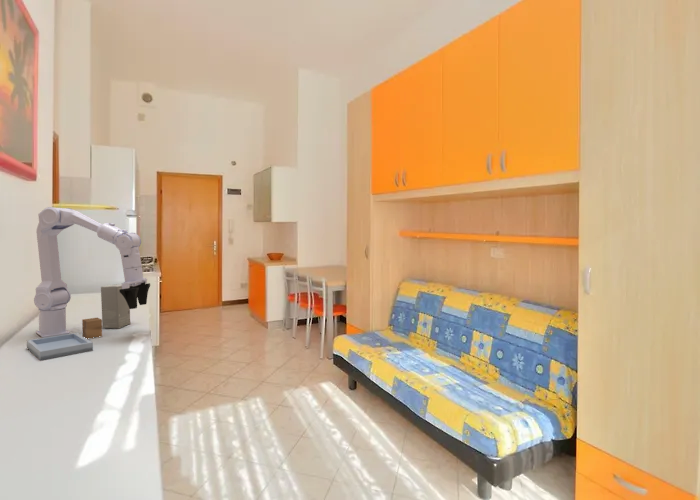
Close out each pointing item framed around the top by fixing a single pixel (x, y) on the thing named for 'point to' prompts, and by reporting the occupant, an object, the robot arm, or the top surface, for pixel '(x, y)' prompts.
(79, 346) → the tray
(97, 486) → the top surface
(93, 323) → the walnut block
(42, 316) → the robot arm
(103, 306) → the skincare box
